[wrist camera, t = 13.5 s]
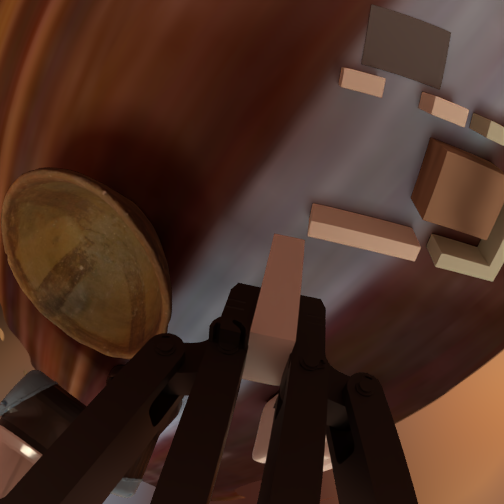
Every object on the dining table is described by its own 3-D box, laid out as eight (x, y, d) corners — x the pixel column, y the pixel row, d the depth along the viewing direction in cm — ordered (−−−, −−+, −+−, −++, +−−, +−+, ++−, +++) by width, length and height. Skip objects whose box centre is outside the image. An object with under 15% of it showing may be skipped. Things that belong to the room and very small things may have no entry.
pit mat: (360, 63, 21) (361, 63, 21) (370, 5, 18) (371, 4, 18) (437, 89, 21) (439, 89, 20) (448, 33, 18) (450, 32, 17)
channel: (309, 217, 30) (307, 236, 27) (341, 67, 22) (344, 67, 19) (407, 241, 29) (414, 261, 26) (452, 103, 21) (468, 109, 18)
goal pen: (426, 246, 28) (435, 266, 26) (473, 112, 20) (491, 120, 18) (481, 261, 28) (492, 281, 25) (530, 142, 20) (549, 153, 17)
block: (410, 197, 26) (422, 219, 23) (429, 136, 23) (447, 150, 19) (469, 216, 26) (486, 240, 22) (490, 162, 22) (512, 179, 19)
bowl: (29, 202, 36) (-20, 240, 28) (128, 95, 26) (57, 117, 18) (121, 318, 44) (89, 368, 36) (248, 269, 34) (224, 339, 26)
